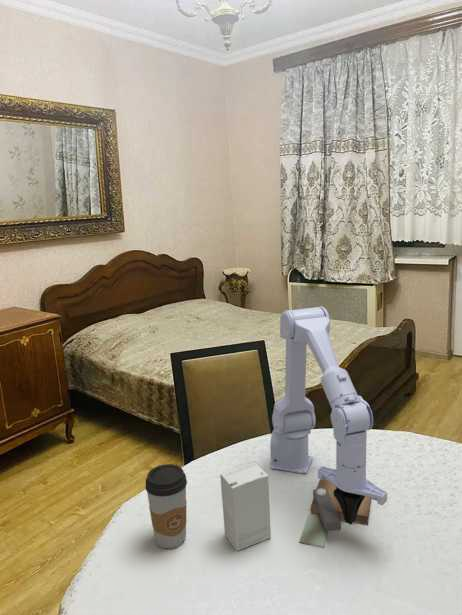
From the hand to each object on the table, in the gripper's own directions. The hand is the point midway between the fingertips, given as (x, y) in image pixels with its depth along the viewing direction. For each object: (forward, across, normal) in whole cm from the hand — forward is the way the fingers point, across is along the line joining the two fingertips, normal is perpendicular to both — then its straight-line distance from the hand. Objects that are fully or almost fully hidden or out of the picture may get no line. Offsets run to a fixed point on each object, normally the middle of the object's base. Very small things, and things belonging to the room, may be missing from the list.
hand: (350, 520), depth 100 cm
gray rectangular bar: (+1, +6, 0) cm, 6 cm away
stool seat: (+3, +5, -3) cm, 7 cm away
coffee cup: (+3, +27, +25) cm, 37 cm away
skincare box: (+3, +15, +14) cm, 21 cm away
